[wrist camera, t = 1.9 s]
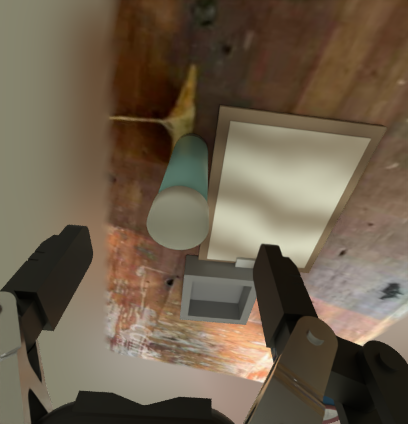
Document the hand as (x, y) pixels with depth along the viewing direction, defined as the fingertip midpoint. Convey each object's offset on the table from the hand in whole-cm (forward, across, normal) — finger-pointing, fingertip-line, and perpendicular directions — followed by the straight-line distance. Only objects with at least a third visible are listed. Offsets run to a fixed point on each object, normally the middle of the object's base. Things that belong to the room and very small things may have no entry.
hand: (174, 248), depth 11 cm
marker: (+13, 0, 0) cm, 13 cm away
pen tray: (+13, -5, +18) cm, 23 cm away
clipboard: (+13, -9, +5) cm, 16 cm away
